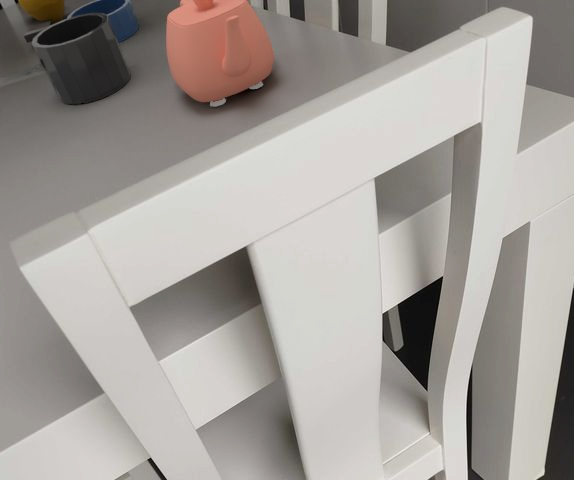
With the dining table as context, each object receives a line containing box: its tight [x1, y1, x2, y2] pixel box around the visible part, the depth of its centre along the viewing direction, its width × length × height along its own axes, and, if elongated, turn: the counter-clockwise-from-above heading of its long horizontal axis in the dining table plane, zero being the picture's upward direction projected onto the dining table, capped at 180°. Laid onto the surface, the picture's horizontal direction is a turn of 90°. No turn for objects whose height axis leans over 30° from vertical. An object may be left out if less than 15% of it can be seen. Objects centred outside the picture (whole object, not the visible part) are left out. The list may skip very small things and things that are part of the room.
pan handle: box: [23, 24, 51, 44], centre depth 105 cm, size 8×2×1 cm, turn 102°
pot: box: [31, 13, 132, 105], centre depth 90 cm, size 12×12×8 cm
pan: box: [66, 0, 140, 43], centre depth 106 cm, size 12×12×4 cm
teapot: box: [165, 0, 275, 103], centre depth 77 cm, size 13×20×12 cm, turn 27°
